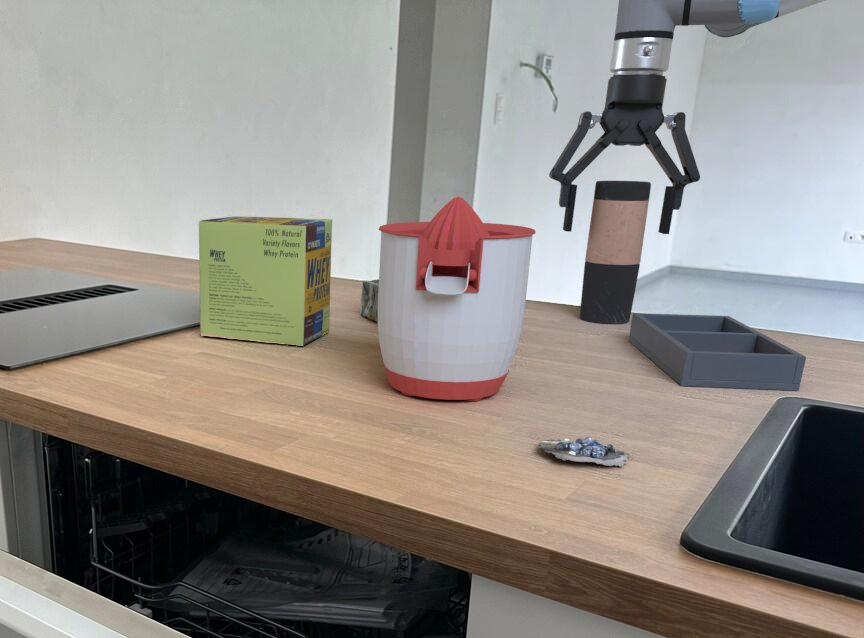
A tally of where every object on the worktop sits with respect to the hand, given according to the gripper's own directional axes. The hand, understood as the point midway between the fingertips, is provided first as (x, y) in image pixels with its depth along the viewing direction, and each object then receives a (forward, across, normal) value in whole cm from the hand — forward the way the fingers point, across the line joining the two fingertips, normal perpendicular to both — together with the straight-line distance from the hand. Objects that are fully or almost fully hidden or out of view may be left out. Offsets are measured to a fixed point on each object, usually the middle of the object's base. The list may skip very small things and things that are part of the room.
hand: (614, 232), depth 126 cm
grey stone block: (+13, -29, -10) cm, 33 cm away
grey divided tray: (+13, +6, -27) cm, 31 cm away
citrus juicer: (+13, -26, -45) cm, 54 cm away
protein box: (+14, -49, -20) cm, 54 cm away
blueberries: (+13, -15, -64) cm, 67 cm away
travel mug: (+13, 0, 0) cm, 13 cm away
